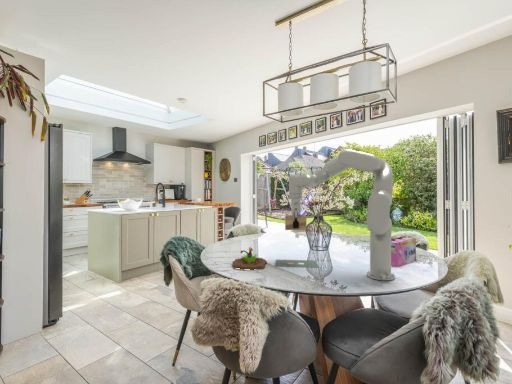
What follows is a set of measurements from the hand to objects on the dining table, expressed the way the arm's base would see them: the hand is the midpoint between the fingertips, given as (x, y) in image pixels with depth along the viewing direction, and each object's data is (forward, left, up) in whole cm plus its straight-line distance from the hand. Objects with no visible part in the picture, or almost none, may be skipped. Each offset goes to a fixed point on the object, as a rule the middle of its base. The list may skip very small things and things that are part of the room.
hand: (295, 227), depth 159 cm
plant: (-6, +26, -22) cm, 35 cm away
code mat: (0, 0, -21) cm, 21 cm away
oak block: (0, 0, -1) cm, 1 cm away
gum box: (+9, -61, -22) cm, 65 cm away
